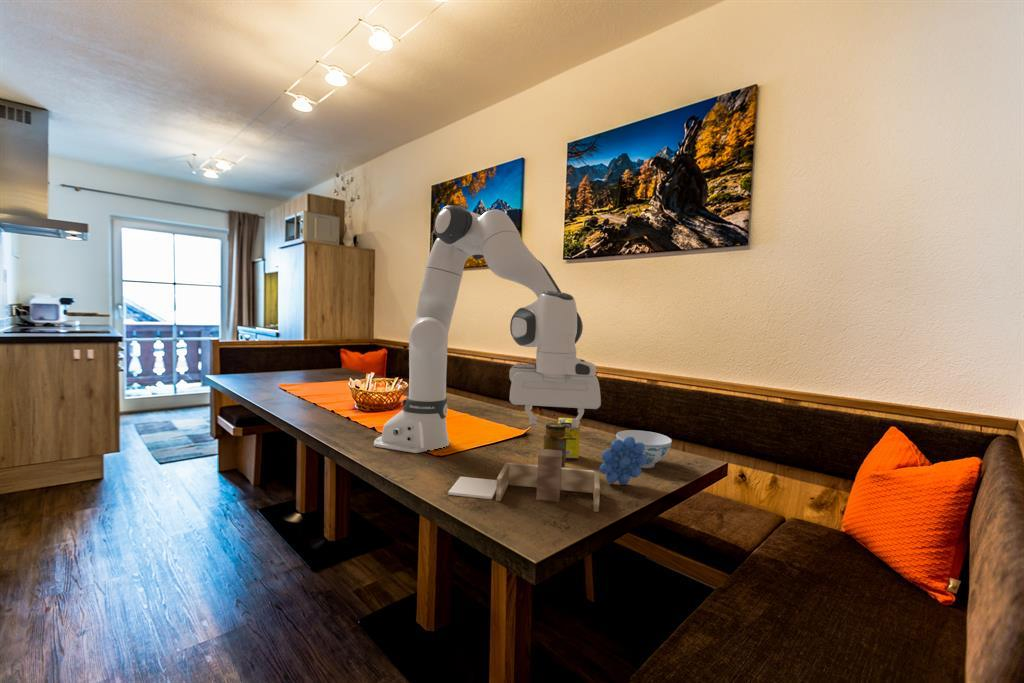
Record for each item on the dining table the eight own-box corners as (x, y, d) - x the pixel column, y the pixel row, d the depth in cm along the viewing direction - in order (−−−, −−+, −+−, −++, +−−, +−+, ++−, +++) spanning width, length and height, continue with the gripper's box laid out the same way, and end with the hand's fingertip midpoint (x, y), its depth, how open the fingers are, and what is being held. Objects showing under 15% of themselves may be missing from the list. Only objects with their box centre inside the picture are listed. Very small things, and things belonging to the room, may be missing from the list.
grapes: (639, 478, 116) (642, 432, 115) (649, 488, 109) (652, 439, 108) (594, 477, 115) (597, 431, 114) (601, 487, 108) (603, 438, 108)
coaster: (448, 494, 100) (448, 492, 100) (460, 478, 110) (460, 476, 110) (491, 499, 99) (492, 496, 99) (500, 483, 109) (500, 480, 109)
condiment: (561, 464, 125) (563, 421, 124) (573, 475, 116) (575, 429, 116) (536, 465, 123) (538, 421, 122) (546, 476, 115) (548, 430, 114)
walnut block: (536, 499, 100) (538, 455, 99) (538, 491, 105) (540, 448, 104) (558, 502, 99) (561, 457, 98) (560, 493, 104) (562, 450, 103)
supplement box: (579, 461, 128) (580, 422, 127) (557, 460, 128) (559, 422, 127) (576, 454, 134) (578, 418, 133) (556, 453, 134) (557, 417, 133)
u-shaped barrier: (495, 500, 98) (496, 478, 98) (504, 482, 109) (505, 462, 109) (598, 511, 95) (599, 488, 94) (597, 491, 106) (598, 471, 105)
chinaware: (677, 463, 129) (678, 437, 129) (659, 477, 117) (661, 448, 117) (627, 452, 138) (628, 427, 138) (606, 464, 126) (607, 437, 126)
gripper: (507, 364, 99) (506, 426, 100) (602, 368, 96) (600, 432, 97) (511, 361, 105) (510, 420, 106) (601, 365, 102) (599, 425, 103)
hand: (554, 426), depth 101 cm, fingers open, 8 cm apart
